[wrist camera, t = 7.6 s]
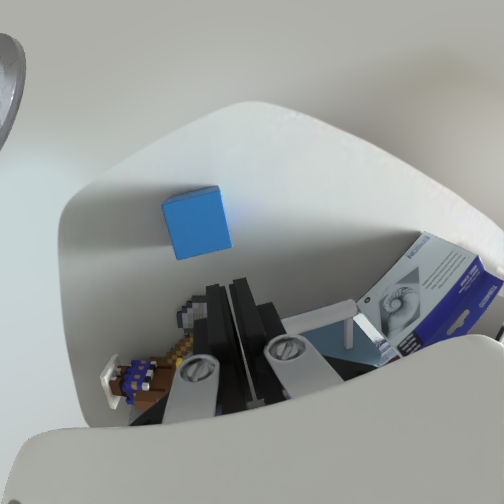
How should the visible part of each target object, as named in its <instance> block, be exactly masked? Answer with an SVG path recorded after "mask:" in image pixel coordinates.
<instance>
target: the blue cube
mask: <svg viewBox="0 0 504 504" xmlns="http://www.w3.org/2000/svg"><path fill="white" fill-rule="evenodd" d="M162 209H163V212H164V216H165V220H166V224H167V227H168V231H169V235H170V238H171V242H172V245H173V249H174V252H175V256H176V259H177V260H181V259H185V258H189V257H193V256H198V255H202V254H206V253H210V252H214V251H219V250H223V249H227V248H231V247H233V245H232V241H231V236H230V232H229V228H228V223H227V219H226V214H225V210H224V205H223V201H222V196H221V191H220V189H219V187H218V186H214V187H209V188H205V189H201V190H197V191H193V192H189V193H185V194H181V195H177V196H173V197H170V198H169V199H168V200H167V201H166V202H164V203H163V204H162Z"/></svg>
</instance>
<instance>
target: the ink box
mask: <svg viewBox="0 0 504 504" xmlns="http://www.w3.org/2000/svg"><path fill="white" fill-rule="evenodd" d="M503 284H504V281H503V280H500V279H499V278H497V277H495V276H493V275H491V274H490V273H488V272H487V271H486V270H485V268H484V266H483V264H482V261H481V259H480V257H479V255H477V254H474V253H472V252H470V251H468V250H466V249H464V248H461V247H459V246H457V245H455V244H453V243H451V242H448V241H446V240H444V239H442V238H439V237H437V236H435V235H433V234H430V233H428V232H425V231H424V232H423V233H422V234H421V236H420V237H419V238H418V239H417V240H416V241H415V243H414V244H413V245H412V246H411V247H410V248H409V249H408V250H407V252H406V253H405V254H404V255H403V256H402V257H401V258H400V259H399V260H398V262H397V263H396V264H395V265H394V266H393V267H392V268H391V269H390V270H389V271H388V272H387V273H386V274H385V275H384V276H383V277H382V278H381V279H380V280H379V281H378V282H377V283H376V284H375V285H374V286H373V287H372V288H371V289H370V290H369V291H368V292H367V293H366V294H365V295H364V296H363V297H362V298H361V299H360V300H359V301H358V302H357V303H356V305H357V307H358V308H359V309H360V311H361V312H362V314H363V315H364V316H365V317H366V318H367V319H368V320H369V322H370V323H371V324H372V325H373V326H374V327H375V328H376V329H377V331H378V332H379V333H380V334H381V335H382V336H383V337H384V339H385V340H386V341H387V342H388V343H389V345H390V346H391V347H392V348H393V349H394V350H395V352H396V353H397V354H398V355H399V356H400V358H403V357H405V356H408V355H410V354H412V353H414V352H417V351H419V350H421V349H423V348H425V347H428V346H430V345H433V344H435V343H438V342H440V341H444V340H447V339H450V338H454V337H459V336H465V335H467V334H468V332H469V331H470V330H471V329H472V328H473V326H474V325H475V324H476V323H477V321H478V320H479V319H480V317H481V316H482V315H483V313H484V312H485V311H486V310H487V308H488V307H489V305H490V304H491V303H492V301H493V300H494V298H495V297H496V295H497V294H498V292H499V291H500V290H501V288H502V286H503ZM465 310H469V311H470V312H469V314H468V315H467V316H466V318H465V319H464V324H463V325H462V326H461V327H458V328H456V330H455V331H454V332H453V333H452V334H451V335H447V331H448V330H449V329H450V328H451V326H452V325H453V324H454V323H455V322H456V321H457V320H458V318H459V317H460V316H461V314H463V312H464V311H465Z"/></svg>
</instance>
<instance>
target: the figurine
mask: <svg viewBox="0 0 504 504" xmlns="http://www.w3.org/2000/svg"><path fill="white" fill-rule="evenodd" d="M206 317H207V302H206V296H192V301H187V306H182V311H177V323H178V328H183V329H184V333H189V335H185V337H184V338H185V340H180V344H176V345H175V348H171V352H167V354H166V356H163V358H159V357H150V360H149V361H141V360H132V362H131V365H132V367H130V366H121V365H120V361H119V357H118V354H113V355H112V357H111V359H110V360H109V362H108V363H107V365H106V367H105V368H104V370H103V372H102V373H101V375H100V376H99V377H100V380H101V383H102V386H103V389H104V392H105V394H106V397H107V400H108V403H109V405H110V408H111V409H116V407H117V405H118V402H119V400H120V398H121V396H124V397H127V398H126V402H127V404H131V405H135V407H136V409H141V410H142V413H144V412H145V411H146V410H148V409H149V408H150V407H151V406H153V405H154V404H155V403H156V402H157V401H159V400H160V399H161V398H162V397H163V396H165V395H166V394H167V393H168V392H169V391H170V390H171V386H172V382H173V379H174V375H175V372H176V369H177V367H178V365H179V364H180V363H181V362H182V361H184V360H183V358H182V357H183V356H182V355H184V356H187V351H191V350H192V347H193V323H194V320H197V319H201V318H206Z"/></svg>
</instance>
